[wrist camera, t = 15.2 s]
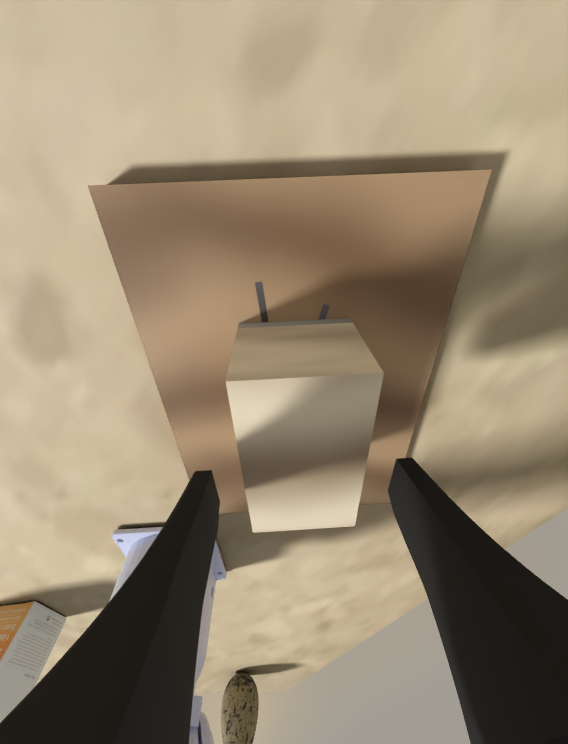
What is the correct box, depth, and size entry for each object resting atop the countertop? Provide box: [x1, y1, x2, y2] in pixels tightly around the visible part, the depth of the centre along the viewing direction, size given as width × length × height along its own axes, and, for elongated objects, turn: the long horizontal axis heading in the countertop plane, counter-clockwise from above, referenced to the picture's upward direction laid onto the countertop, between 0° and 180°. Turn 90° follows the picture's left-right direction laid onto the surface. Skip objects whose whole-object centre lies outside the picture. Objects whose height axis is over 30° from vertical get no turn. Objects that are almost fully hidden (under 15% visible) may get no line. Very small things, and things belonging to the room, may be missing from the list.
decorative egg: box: [221, 672, 258, 744], centre depth 45 cm, size 6×6×10 cm
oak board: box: [88, 170, 492, 514], centre depth 16 cm, size 20×14×1 cm
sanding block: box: [226, 318, 384, 533], centre depth 13 cm, size 9×5×4 cm, turn 2°
